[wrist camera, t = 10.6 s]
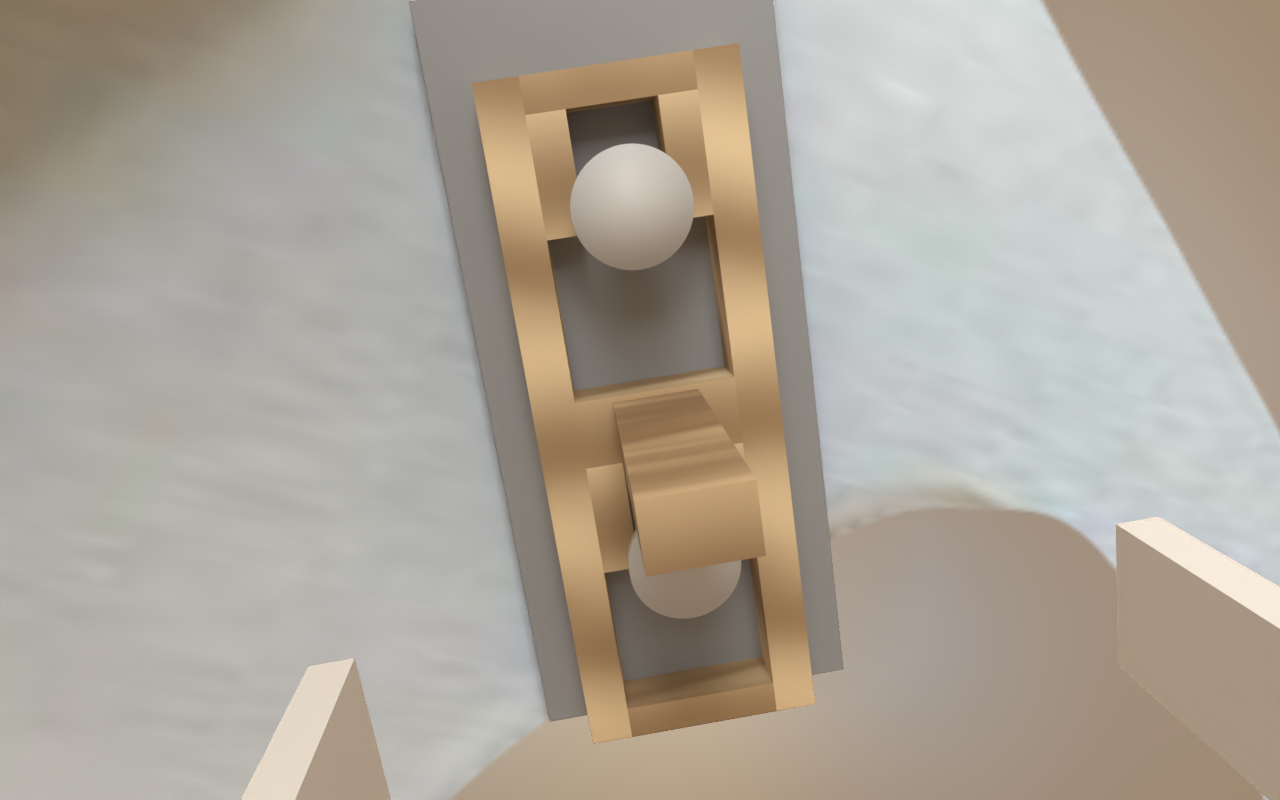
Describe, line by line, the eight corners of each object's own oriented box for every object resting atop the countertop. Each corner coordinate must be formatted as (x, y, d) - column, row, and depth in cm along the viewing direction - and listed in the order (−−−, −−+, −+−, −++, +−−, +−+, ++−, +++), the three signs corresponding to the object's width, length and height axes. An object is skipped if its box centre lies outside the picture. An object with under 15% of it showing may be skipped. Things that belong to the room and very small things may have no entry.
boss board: (414, 8, 31) (384, -27, 26) (759, -42, 32) (798, -87, 26) (550, 704, 38) (547, 789, 32) (835, 654, 38) (877, 729, 33)
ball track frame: (477, 89, 31) (423, 32, 19) (728, 51, 31) (824, -27, 19) (591, 714, 37) (603, 962, 25) (802, 676, 37) (911, 904, 25)
